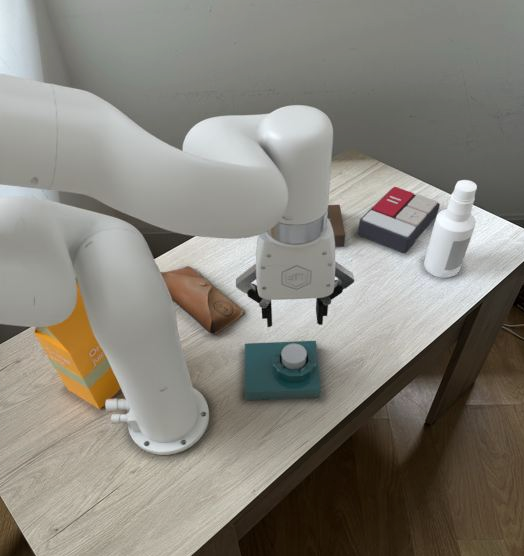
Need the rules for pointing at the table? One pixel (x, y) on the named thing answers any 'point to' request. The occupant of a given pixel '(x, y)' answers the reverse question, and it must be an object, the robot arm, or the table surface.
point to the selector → (337, 224)
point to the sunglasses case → (201, 299)
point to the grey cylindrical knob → (294, 356)
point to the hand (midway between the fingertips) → (294, 318)
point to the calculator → (398, 219)
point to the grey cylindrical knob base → (280, 372)
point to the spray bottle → (452, 232)
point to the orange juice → (79, 357)
